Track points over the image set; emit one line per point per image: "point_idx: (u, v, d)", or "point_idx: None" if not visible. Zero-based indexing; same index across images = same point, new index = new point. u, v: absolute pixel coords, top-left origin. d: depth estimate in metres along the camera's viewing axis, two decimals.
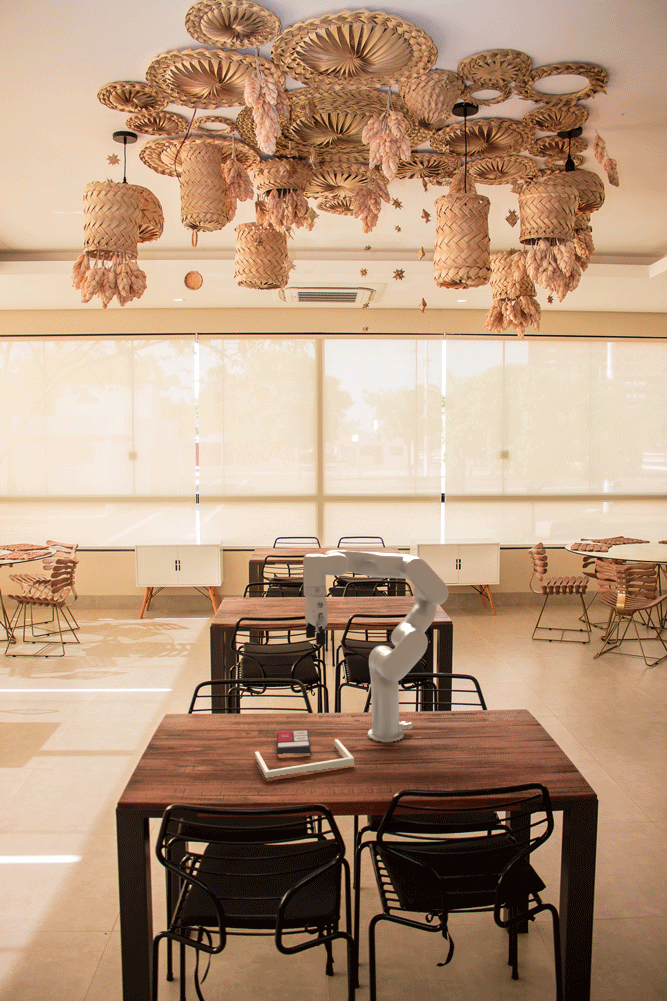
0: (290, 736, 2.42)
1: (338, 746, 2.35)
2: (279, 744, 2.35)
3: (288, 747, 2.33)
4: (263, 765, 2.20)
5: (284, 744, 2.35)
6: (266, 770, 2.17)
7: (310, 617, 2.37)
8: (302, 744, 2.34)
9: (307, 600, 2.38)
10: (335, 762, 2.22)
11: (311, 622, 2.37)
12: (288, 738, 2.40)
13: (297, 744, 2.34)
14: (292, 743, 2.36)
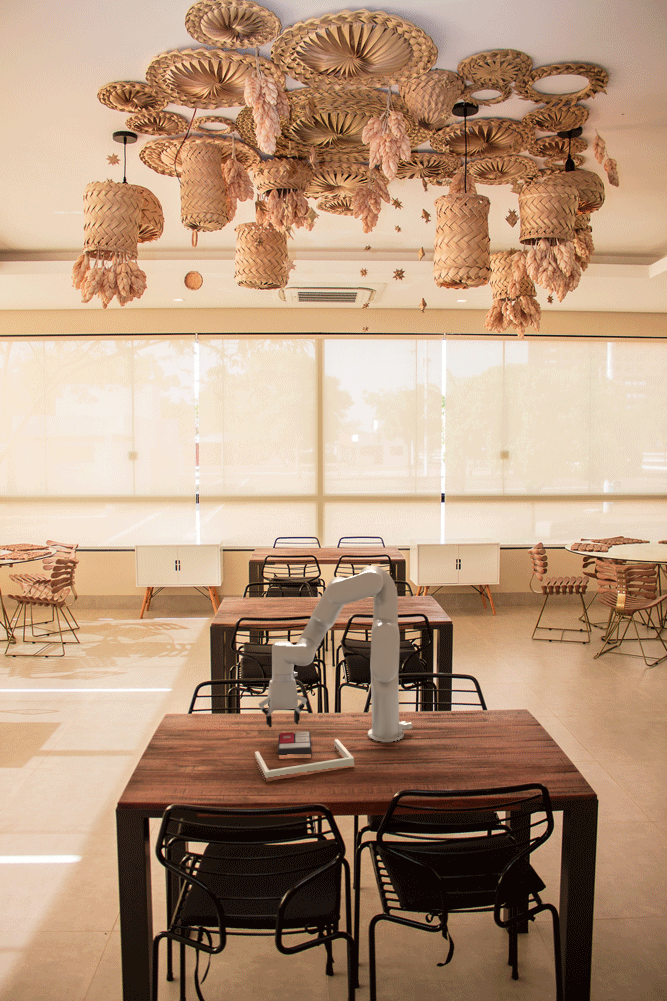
0: (292, 737, 2.41)
1: (338, 746, 2.35)
2: (280, 745, 2.35)
3: (289, 748, 2.32)
4: (263, 765, 2.20)
5: (285, 745, 2.34)
6: (266, 770, 2.17)
7: (288, 702, 2.49)
8: (303, 745, 2.33)
9: (282, 688, 2.47)
10: (335, 762, 2.22)
11: (289, 706, 2.49)
12: (289, 739, 2.39)
13: (298, 745, 2.33)
14: (293, 744, 2.35)
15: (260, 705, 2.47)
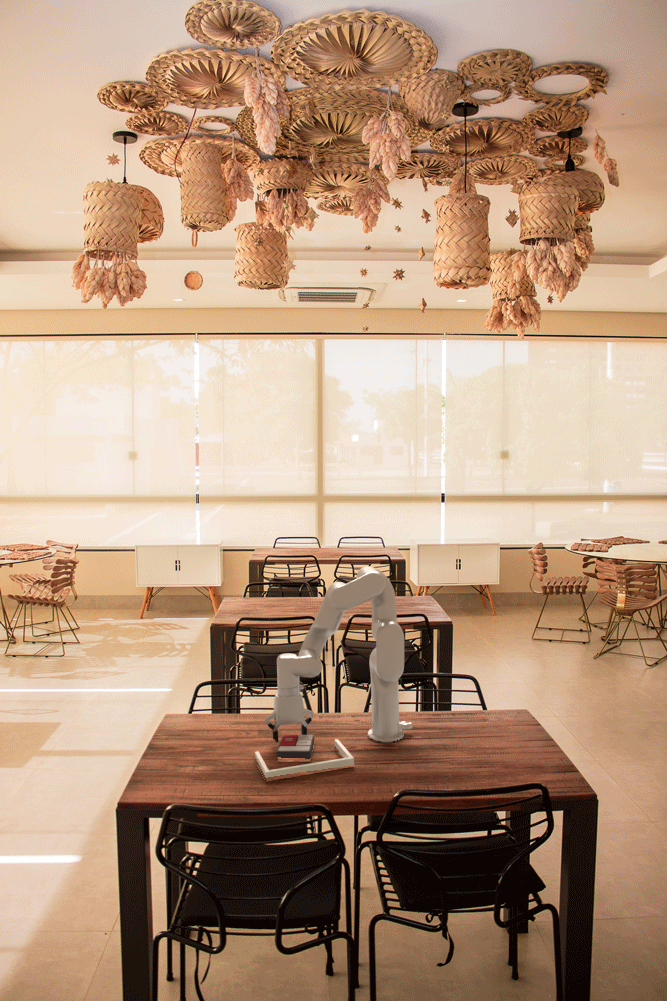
0: (294, 740, 2.38)
1: (338, 746, 2.35)
2: (280, 747, 2.32)
3: (288, 751, 2.29)
4: (263, 765, 2.20)
5: (285, 748, 2.32)
6: (266, 770, 2.17)
7: (295, 716, 2.42)
8: (303, 749, 2.30)
9: (288, 702, 2.41)
10: (335, 762, 2.22)
11: (296, 720, 2.42)
12: (291, 742, 2.37)
13: (298, 749, 2.31)
14: (293, 747, 2.32)
15: (266, 720, 2.41)
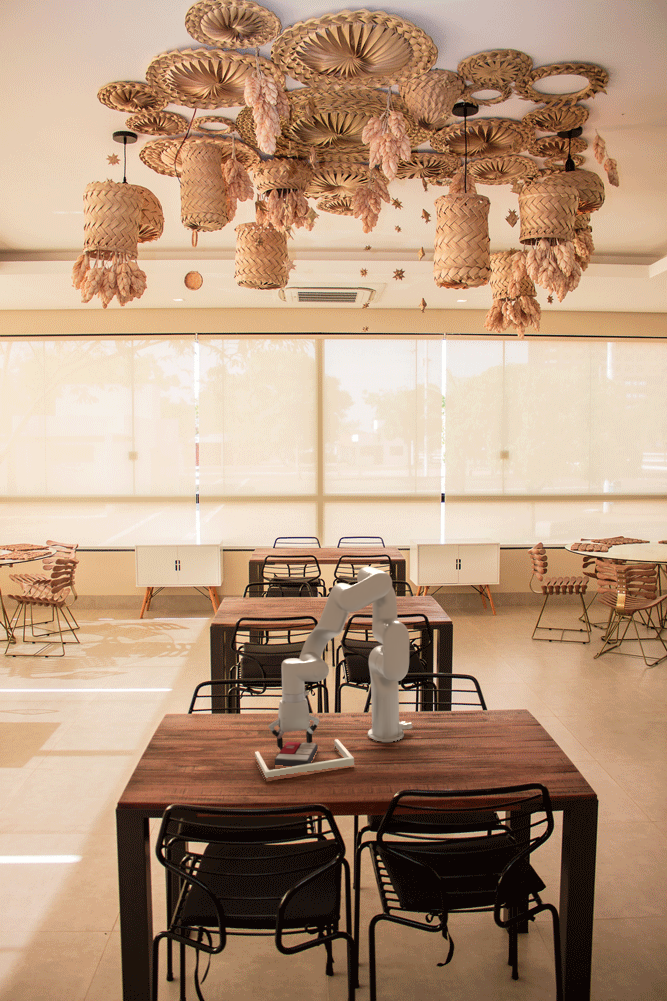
0: (295, 748, 2.32)
1: (338, 746, 2.35)
2: (278, 754, 2.27)
3: (286, 759, 2.24)
4: (263, 765, 2.20)
5: (283, 756, 2.26)
6: (266, 770, 2.17)
7: (300, 723, 2.35)
8: (301, 758, 2.24)
9: (293, 708, 2.34)
10: (335, 762, 2.22)
11: (301, 727, 2.36)
12: (291, 749, 2.31)
13: (296, 757, 2.24)
14: (292, 755, 2.26)
15: (270, 727, 2.34)
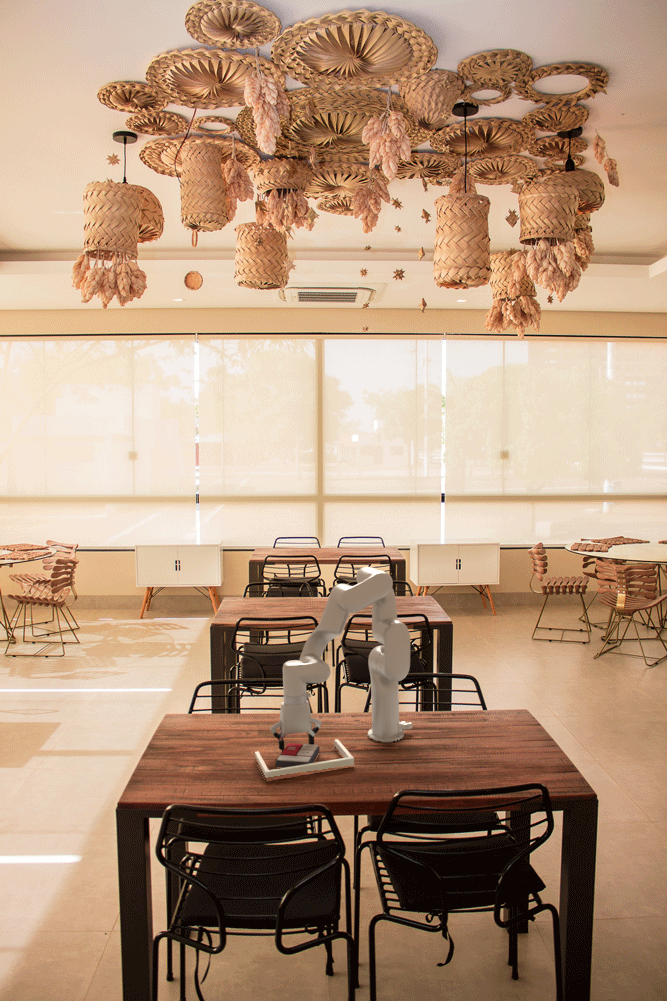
0: (296, 749, 2.31)
1: (338, 746, 2.35)
2: (280, 756, 2.26)
3: (287, 761, 2.22)
4: (263, 765, 2.20)
5: (284, 757, 2.24)
6: (266, 770, 2.17)
7: (302, 725, 2.34)
8: (302, 759, 2.22)
9: (295, 710, 2.33)
10: (335, 762, 2.22)
11: (303, 730, 2.34)
12: (293, 751, 2.29)
13: (297, 759, 2.23)
14: (293, 757, 2.24)
15: (272, 729, 2.33)
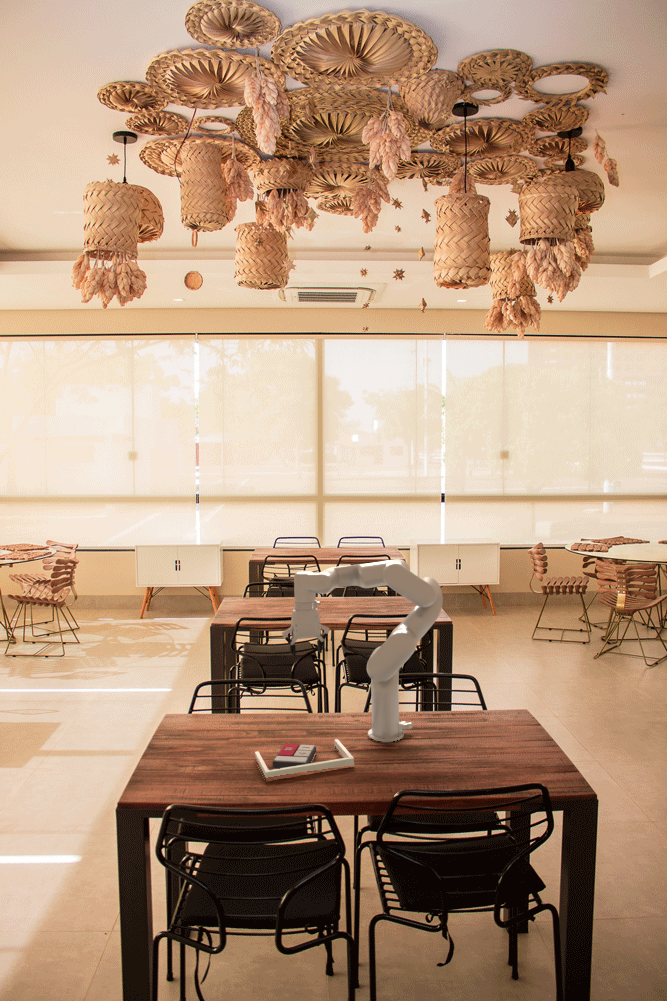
0: (293, 750, 2.31)
1: (338, 746, 2.35)
2: (277, 757, 2.25)
3: (284, 761, 2.22)
4: (263, 765, 2.20)
5: (281, 758, 2.24)
6: (266, 770, 2.17)
7: (312, 630, 2.51)
8: (299, 760, 2.22)
9: (305, 616, 2.50)
10: (335, 762, 2.22)
11: (312, 635, 2.51)
12: (290, 751, 2.29)
13: (294, 759, 2.23)
14: (290, 758, 2.24)
15: (284, 634, 2.49)
